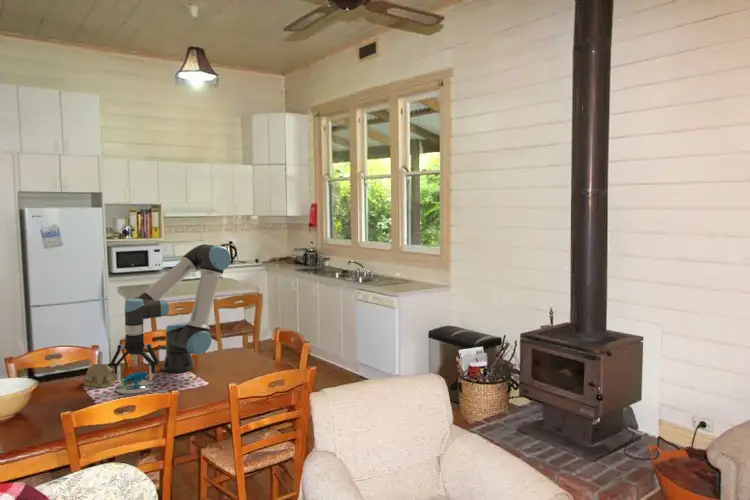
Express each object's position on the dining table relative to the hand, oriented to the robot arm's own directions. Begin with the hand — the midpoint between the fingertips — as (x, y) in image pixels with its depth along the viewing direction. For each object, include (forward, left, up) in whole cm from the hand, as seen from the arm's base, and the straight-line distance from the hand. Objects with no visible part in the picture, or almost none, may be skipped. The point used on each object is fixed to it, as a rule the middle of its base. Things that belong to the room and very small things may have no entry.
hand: (134, 380), depth 251 cm
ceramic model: (-9, -18, -4) cm, 20 cm away
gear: (+1, 0, -3) cm, 3 cm away
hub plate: (0, 0, -4) cm, 4 cm away
